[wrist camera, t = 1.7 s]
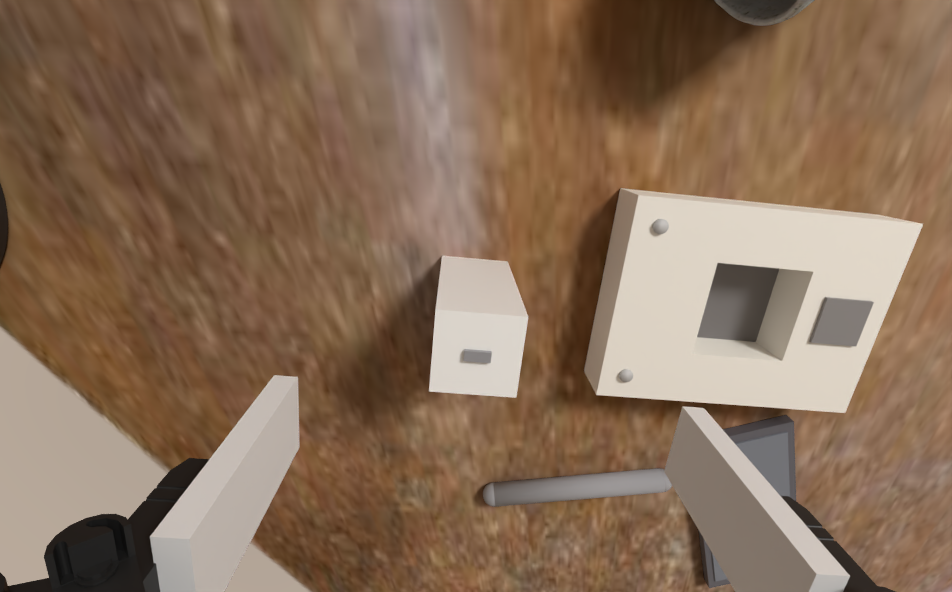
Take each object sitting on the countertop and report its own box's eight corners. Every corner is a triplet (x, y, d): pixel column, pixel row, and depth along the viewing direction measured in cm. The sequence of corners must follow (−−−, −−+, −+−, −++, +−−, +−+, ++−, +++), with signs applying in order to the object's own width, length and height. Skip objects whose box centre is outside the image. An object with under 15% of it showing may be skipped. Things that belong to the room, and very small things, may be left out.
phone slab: (704, 579, 38) (709, 589, 38) (687, 437, 34) (693, 445, 33) (791, 560, 38) (798, 570, 37) (786, 414, 33) (794, 422, 33)
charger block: (437, 316, 30) (428, 393, 21) (442, 255, 29) (435, 310, 20) (499, 321, 30) (516, 399, 22) (507, 261, 29) (528, 318, 20)
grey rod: (483, 496, 35) (484, 512, 34) (481, 478, 35) (482, 494, 33) (666, 480, 35) (675, 496, 34) (667, 462, 35) (677, 477, 33)
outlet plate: (583, 371, 32) (597, 396, 29) (620, 188, 28) (639, 195, 25) (811, 388, 33) (847, 414, 30) (877, 214, 29) (926, 224, 26)
